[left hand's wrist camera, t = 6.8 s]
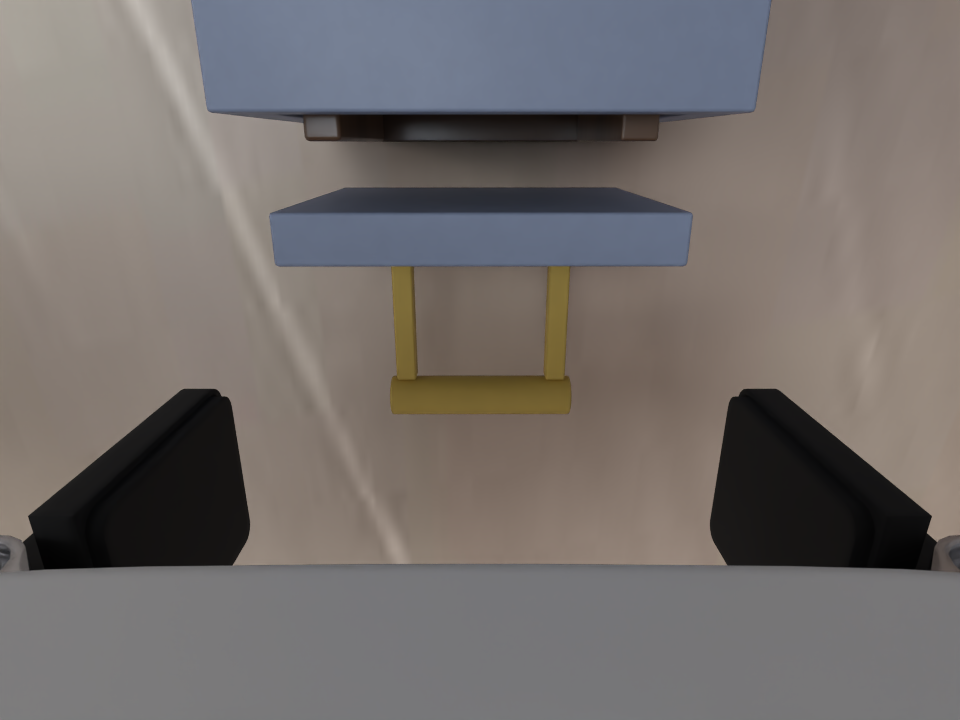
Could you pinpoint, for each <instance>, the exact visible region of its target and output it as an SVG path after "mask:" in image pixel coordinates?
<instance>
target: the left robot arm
mask: <svg viewBox="0 0 960 720" xmlns="http://www.w3.org/2000/svg"><path fill="white" fill-rule="evenodd" d="M28 517H29V521H30V524H31V527H32V530H33V534H32V535H31V536H29V537H28V538H27V539H26V540H25V541H24V542H22V541H21V540H20V539H17V538H15V537H12V536H6V535H0V720H960V535H954V536H948V537H945V538H943V539H940V540H939V541H938V542H936V541H935V540H934V539H933V538H932V537H931V536H929V535H928V534H927V530H928V527H929V524H930V521H931V517H932V516H931V515H930V514H929V513H927V512H926V511H925V510H924V509H923V508H921V507H920V506H919V505H918V504H917V503H915V502H914V501H913V500H912V499H910V498H909V497H908V496H907V495H906V494H904V493H903V492H902V491H901V490H900V489H898V488H897V487H896V486H895V485H893V484H892V483H891V482H890V481H889V480H887V479H886V478H885V477H884V476H883V475H881V474H880V473H879V472H878V471H876V470H875V469H874V468H873V467H872V466H870V465H869V464H868V463H867V462H866V461H864V460H863V459H862V458H861V457H859V456H858V455H857V454H856V453H855V452H853V451H852V450H851V449H850V448H849V447H847V446H846V445H845V444H844V443H842V442H841V441H840V440H839V439H838V438H836V437H835V436H834V435H833V434H832V433H830V432H829V431H828V430H827V429H825V428H824V427H823V426H822V425H821V424H819V423H818V422H817V421H816V420H814V419H813V418H812V417H811V416H810V415H808V414H807V413H806V412H805V411H804V410H802V409H801V408H800V407H799V406H797V405H796V404H795V403H794V402H793V401H791V400H790V399H789V398H788V397H787V396H785V395H784V394H783V393H782V392H780V391H779V390H777V389H743V390H742V391H741V392H740V394H739V396H738V397H732V398H731V400H730V402H729V406H728V411H727V418H726V424H725V430H724V437H723V443H722V449H721V456H720V462H719V468H718V474H717V481H716V487H715V493H714V500H713V506H712V512H711V519H710V531H711V536H712V539H713V541H714V543H715V545H716V547H717V548H718V550H719V552H720V553H721V555H722V557H723V558H724V560H725V562H726V564H727V565H728V566H720V565H603V564H336V565H243V566H232V565H233V564H234V562H235V560H236V559H237V557H238V555H239V553H240V552H241V550H242V548H243V547H244V545H245V543H246V541H247V539H248V536H249V531H250V519H249V512H248V506H247V500H246V493H245V487H244V481H243V474H242V468H241V462H240V455H239V449H238V443H237V436H236V430H235V424H234V417H233V411H232V405H231V402H230V400H229V398H228V397H222V396H221V394H220V392H219V391H218V390H217V389H183V390H181V391H180V392H178V393H177V394H176V395H175V396H173V397H172V398H171V399H170V400H169V401H167V402H166V403H165V404H164V405H163V406H161V407H160V408H159V409H158V410H156V411H155V412H154V413H153V414H152V415H150V416H149V417H148V418H147V419H146V420H144V421H143V422H142V423H141V424H139V425H138V426H137V427H136V428H135V429H133V430H132V431H131V432H130V433H129V434H127V435H126V436H125V437H124V438H122V439H121V440H120V441H119V442H118V443H116V444H115V445H114V446H113V447H112V448H110V449H109V450H108V451H107V452H105V453H104V454H103V455H102V456H101V457H99V458H98V459H97V460H96V461H95V462H93V463H92V464H91V465H90V466H88V467H87V468H86V469H85V470H84V471H82V472H81V473H80V474H79V475H77V476H76V477H75V478H74V479H73V480H71V481H70V482H69V483H68V484H67V485H65V486H64V487H63V488H62V489H60V490H59V491H58V492H57V493H56V494H54V495H53V496H52V497H51V498H50V499H48V500H47V501H46V502H45V503H43V504H42V505H41V506H40V507H39V508H37V509H36V510H35V511H34V512H33V513H31V514H30V515H29V516H28Z"/></svg>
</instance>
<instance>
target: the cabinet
mask: <svg viewBox="0 0 960 720" xmlns="http://www.w3.org/2000/svg"><path fill="white" fill-rule="evenodd" d="M191 3H192V9H193V16H194V23H195V30H196V37H197V43H198V50H199V57H200V64H201V70H202V77H203V84H204V91H205V98H206V104H207V109H208V111H209V112H212V113H220V114H230V115H237V116H246V117H255V118H264V119H273V120H282V121H291V122H300V123H303V114H660V119H659V122H668V121H677V120H686V119H695V118H704V117H714V116H723V115H730V114H741V113H750V112H753V111H754V110H755V107H756V101H757V94H758V87H759V80H760V74H761V67H762V60H763V53H764V47H765V40H766V33H767V26H768V20H769V13H770V6H771V0H191Z"/></svg>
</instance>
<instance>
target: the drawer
mask: <svg viewBox="0 0 960 720" xmlns="http://www.w3.org/2000/svg"><path fill="white" fill-rule="evenodd" d="M659 119H660V114H303V123H304V133H305V138H306V140H308V141H360V142H508V141H656V140H657V138H658V129H659ZM269 217H270V225H271V234H272V242H273V250H274V259H275V264H276V265H277V266H391V272H392V290H393V309H394V328H395V347H396V366H397V376H393V377H392V380H391V388H390V404H391V410H392V413H393V414H568V413H569V412H570V408H571V383H570V379H569V377H568V376H564V375H565V356H566V337H567V318H568V299H569V280H570V266H685V265H686V264H687V260H688V251H689V243H690V235H691V227H692V218H693V215H692V213H690V212H688V211H685V210H681V209H678V208H675V207H672V206H669V205H666V204H663V203H660V202H657V201H654V200H651V199H648V198H645V197H642V196H639V195H636V194H633V193H630V192H627V191H624V190H621V189H618V188H343V189H340V190H337V191H334V192H331V193H328V194H325V195H323V196H320V197H317V198H314V199H311V200H308V201H305V202H302V203H299V204H296V205H293V206H290V207H287V208H284V209H281V210H278V211H275V212H272V213H270V216H269ZM414 266H548V273H547V299H546V324H545V349H544V375H545V376H417V373H418V364H417V339H416V314H415V289H414Z"/></svg>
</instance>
